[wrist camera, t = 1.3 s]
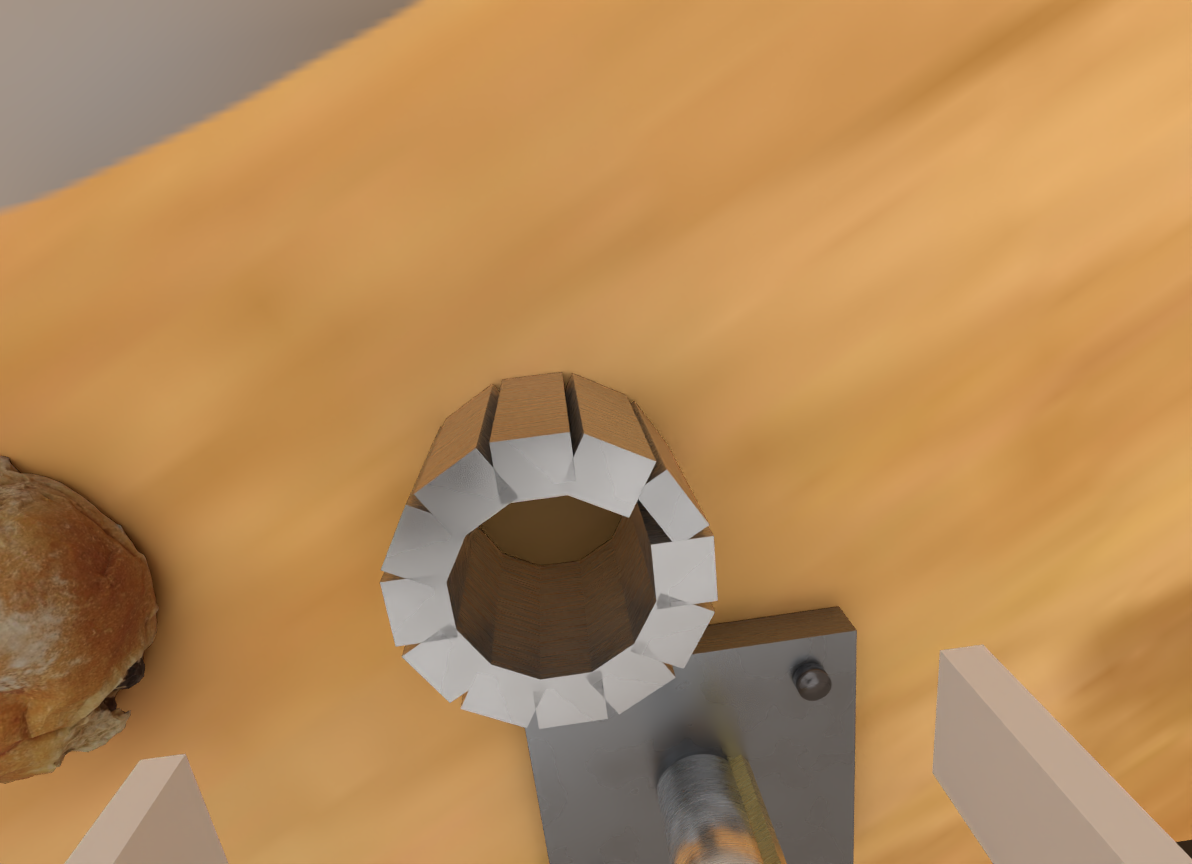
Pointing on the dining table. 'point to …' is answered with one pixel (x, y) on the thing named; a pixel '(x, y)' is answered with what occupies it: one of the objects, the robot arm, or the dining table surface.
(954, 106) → the dining table surface
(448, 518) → the tube
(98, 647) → the bread roll
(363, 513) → the dining table surface
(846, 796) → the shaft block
